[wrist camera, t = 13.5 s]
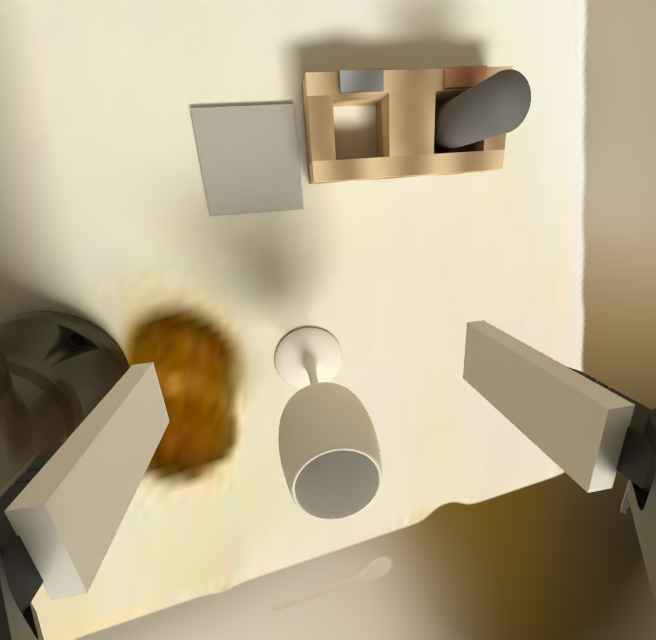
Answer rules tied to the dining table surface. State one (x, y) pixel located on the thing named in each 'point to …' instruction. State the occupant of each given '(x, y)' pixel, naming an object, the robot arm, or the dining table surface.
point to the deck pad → (248, 158)
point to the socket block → (393, 123)
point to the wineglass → (324, 431)
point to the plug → (482, 111)
